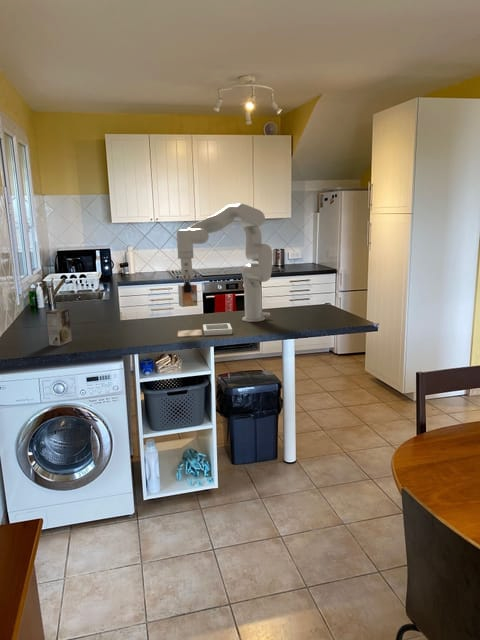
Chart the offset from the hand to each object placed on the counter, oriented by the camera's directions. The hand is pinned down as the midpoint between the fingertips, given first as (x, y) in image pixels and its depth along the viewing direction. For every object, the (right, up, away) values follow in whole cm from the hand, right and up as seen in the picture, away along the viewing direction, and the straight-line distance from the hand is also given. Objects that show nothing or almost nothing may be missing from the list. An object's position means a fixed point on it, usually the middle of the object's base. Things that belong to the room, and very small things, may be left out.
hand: (187, 291), depth 239 cm
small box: (0, -7, +2) cm, 7 cm away
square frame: (+14, -20, +8) cm, 26 cm away
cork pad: (+1, -21, +4) cm, 22 cm away
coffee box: (-60, -26, -6) cm, 66 cm away
